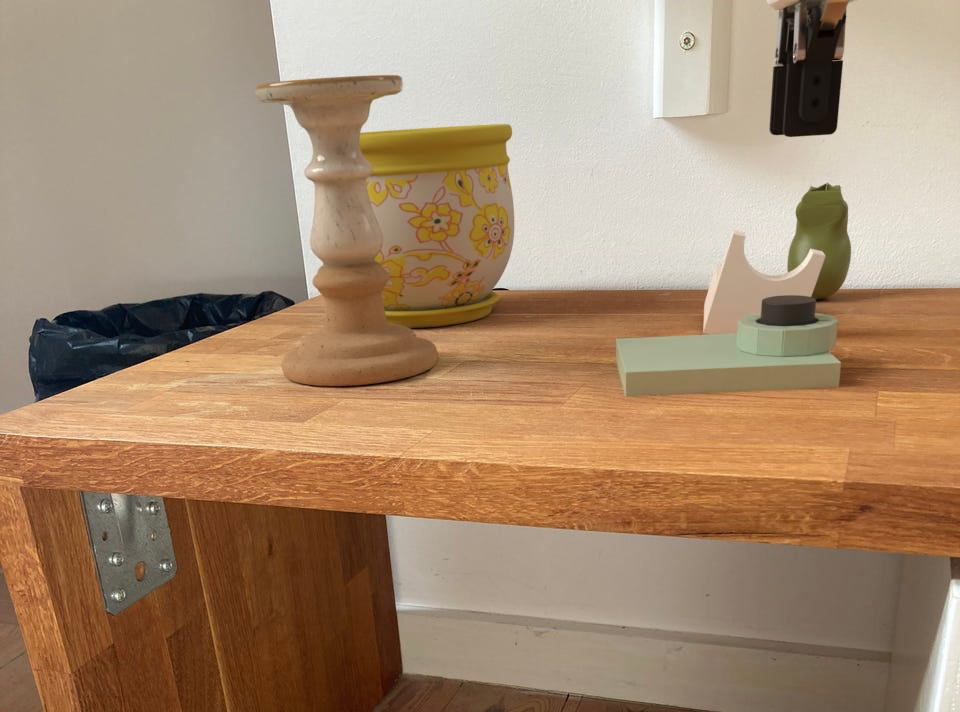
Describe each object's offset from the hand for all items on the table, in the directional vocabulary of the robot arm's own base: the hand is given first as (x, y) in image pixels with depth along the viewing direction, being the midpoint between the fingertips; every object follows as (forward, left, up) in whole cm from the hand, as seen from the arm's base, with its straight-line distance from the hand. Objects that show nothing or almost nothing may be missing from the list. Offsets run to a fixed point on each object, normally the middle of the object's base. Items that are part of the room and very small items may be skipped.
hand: (801, 131), depth 66 cm
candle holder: (+31, -7, -15) cm, 36 cm away
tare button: (0, 0, -12) cm, 12 cm away
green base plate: (+4, 0, -15) cm, 16 cm away
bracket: (-1, -16, -15) cm, 22 cm away
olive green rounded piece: (-9, -28, -15) cm, 33 cm away
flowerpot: (+28, -29, -15) cm, 43 cm away
